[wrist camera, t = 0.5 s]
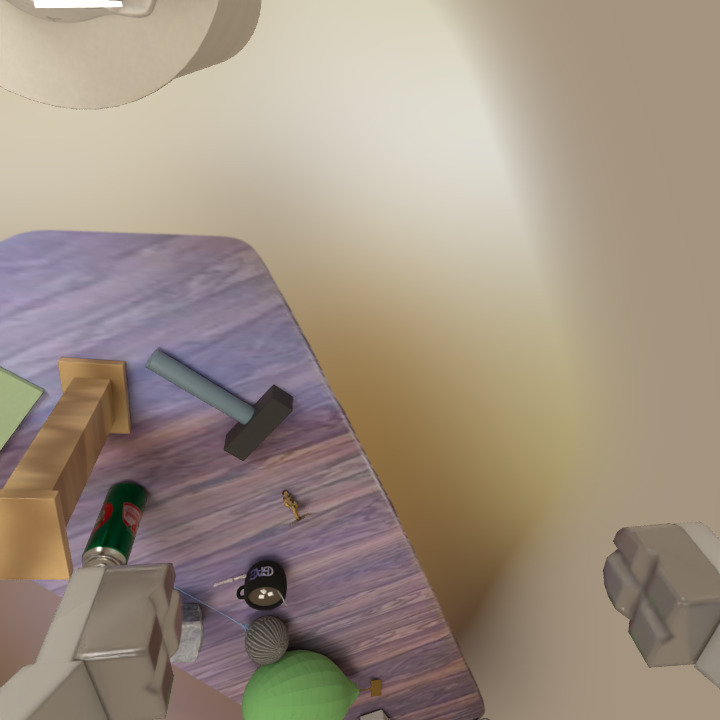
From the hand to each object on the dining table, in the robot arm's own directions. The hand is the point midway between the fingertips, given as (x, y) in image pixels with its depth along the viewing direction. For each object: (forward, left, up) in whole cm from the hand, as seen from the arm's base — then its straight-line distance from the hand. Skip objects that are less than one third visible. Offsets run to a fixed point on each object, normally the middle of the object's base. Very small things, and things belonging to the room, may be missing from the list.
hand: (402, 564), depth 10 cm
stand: (+39, -1, -50) cm, 63 cm away
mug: (+55, +33, -50) cm, 81 cm away
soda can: (+51, +10, -50) cm, 72 cm away
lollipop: (+62, +35, -44) cm, 84 cm away
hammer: (+30, +9, -50) cm, 59 cm away
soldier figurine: (+39, +30, -47) cm, 68 cm away
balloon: (+67, +72, -49) cm, 110 cm away
